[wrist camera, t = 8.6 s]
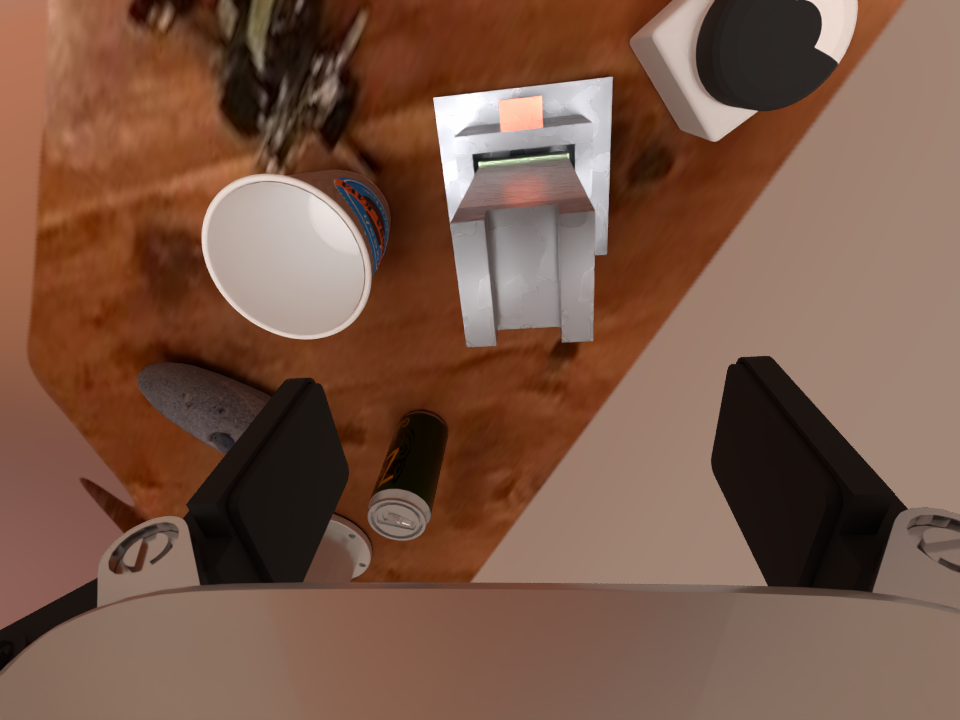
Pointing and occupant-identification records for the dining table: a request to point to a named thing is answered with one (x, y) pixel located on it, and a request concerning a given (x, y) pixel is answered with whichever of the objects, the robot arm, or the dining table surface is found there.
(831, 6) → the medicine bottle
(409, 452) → the beer can
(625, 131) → the dining table surface
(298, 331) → the coffee cup
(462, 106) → the base
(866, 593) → the robot arm
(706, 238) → the dining table surface
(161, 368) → the perforated stone tool
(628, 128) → the dining table surface
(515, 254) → the jack column
